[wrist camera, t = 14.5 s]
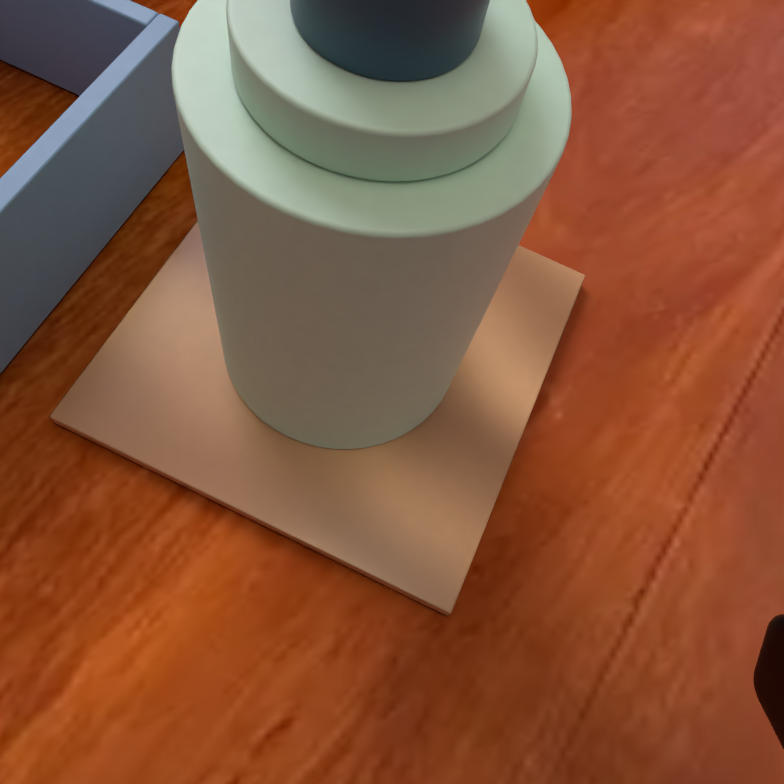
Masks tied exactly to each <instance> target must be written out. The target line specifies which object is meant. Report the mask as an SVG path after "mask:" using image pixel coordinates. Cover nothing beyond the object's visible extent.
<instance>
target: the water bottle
mask: <svg viewBox="0 0 784 784" xmlns="http://www.w3.org/2000/svg"><path fill="white" fill-rule="evenodd" d="M171 71H172V88H173V94H174V99H175V104H176V109H177V114H178V120H179V125H180V130H181V135H182V140H183V146H184V151H185V156H186V161H187V166H188V172H189V177H190V182H191V187H192V192H193V198H194V203H195V208H196V213H197V218H198V224H199V229H200V234H201V239H202V244H203V250H204V255H205V260H206V265H207V270H208V276H209V281H210V286H211V291H212V296H213V302H214V307H215V312H216V317H217V322H218V328H219V333H220V338H221V343H222V348H223V354H224V358H225V363H226V367H227V371H228V373H229V376H230V378H231V381H232V383H233V385H234V387H235V388H236V390H237V392H238V394H239V395H240V397H241V398H242V399H243V401H244V402H245V403H246V405H247V406H248V407H249V408H250V409H251V410H252V411H253V412H254V413H255V414H256V415H257V416H258V417H259V418H260V419H261V420H262V421H264V422H265V423H266V424H268V425H269V426H271V427H272V428H273V429H275V430H277V431H279V432H280V433H282V434H284V435H286V436H288V437H290V438H293V439H295V440H298V441H300V442H302V443H306V444H310V445H314V446H318V447H324V448H331V449H357V448H366V447H371V446H375V445H379V444H383V443H386V442H388V441H391V440H393V439H396V438H398V437H400V436H402V435H404V434H406V433H407V432H409V431H411V430H412V429H414V428H415V427H416V426H418V425H419V424H420V423H422V422H423V421H424V420H425V419H426V418H427V417H428V416H429V415H430V414H431V413H432V412H433V411H434V410H435V409H436V407H437V406H438V405H439V403H440V402H441V401H442V399H443V397H444V395H445V394H446V392H447V390H448V388H449V386H450V384H451V382H452V380H453V378H454V376H455V374H456V372H457V370H458V368H459V366H460V364H461V362H462V360H463V357H464V355H465V353H466V351H467V349H468V347H469V345H470V343H471V341H472V339H473V337H474V335H475V333H476V331H477V329H478V327H479V325H480V323H481V321H482V319H483V316H484V314H485V312H486V310H487V308H488V306H489V304H490V302H491V300H492V298H493V296H494V294H495V292H496V290H497V288H498V286H499V284H500V282H501V280H502V278H503V275H504V273H505V271H506V269H507V267H508V265H509V263H510V261H511V259H512V257H513V255H514V253H515V251H516V249H517V247H518V245H519V243H520V241H521V239H522V237H523V234H524V232H525V230H526V228H527V226H528V224H529V222H530V220H531V218H532V216H533V214H534V212H535V210H536V208H537V206H538V204H539V202H540V200H541V198H542V196H543V193H544V191H545V189H546V187H547V185H548V183H549V181H550V179H551V177H552V175H553V173H554V171H555V169H556V167H557V165H558V163H559V161H560V159H561V157H562V154H563V151H564V149H565V146H566V143H567V140H568V137H569V131H570V125H571V95H570V89H569V84H568V79H567V76H566V73H565V70H564V67H563V65H562V62H561V60H560V58H559V56H558V54H557V52H556V50H555V48H554V46H553V44H552V43H551V41H550V40H549V39H548V37H547V36H546V34H545V33H544V31H543V30H542V29H541V27H540V26H539V25H538V24H537V23H536V22H535V20H534V18H533V15H532V12H531V10H530V7H529V5H528V4H527V2H526V0H198V1H197V2H196V3H195V4H194V6H193V7H192V8H191V9H190V11H189V13H188V15H187V17H186V18H185V20H184V22H183V24H182V26H181V28H180V31H179V34H178V37H177V40H176V43H175V46H174V51H173V59H172V66H171Z"/></svg>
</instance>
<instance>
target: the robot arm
mask: <svg viewBox="0 0 784 784" xmlns="http://www.w3.org/2000/svg"><path fill="white" fill-rule="evenodd" d="M754 687H755V691H756V694H757V697H758V699H759V702H760V703H761V705H762V707H763V709H764V711H765V713H766V715H767V717H768V719H769V721H770V723H771V725H772V727H773V729H774V731H775V733H776V735H777V737H778V739H779V741H780V743H781V745H782V747H783V749H784V614H781V615H778V616H775V617H774V618H773V619H772V620H771V621H770V622H769V625H768V627H767V630H766V634H765V637H764V640H763V644H762V647H761V650H760V654H759V657H758V660H757V664H756V667H755V671H754Z"/></svg>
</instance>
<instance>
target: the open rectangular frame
mask: <svg viewBox="0 0 784 784" xmlns="http://www.w3.org/2000/svg"><path fill="white" fill-rule="evenodd" d="M179 31H180V27H179V22H178V21H176V20H174V19H172V18H169V17H167V16H165V15H163V14H158V13H157V12H155V11H153V10H151V9H148V8H146V7H144V6H142V5H139V4H137V3H135V2H133V1H130V0H0V60H2V61H4V62H7V63H9V64H11V65H13V66H15V67H18V68H20V69H22V70H24V71H26V72H29V73H31V74H33V75H35V76H37V77H40V78H42V79H44V80H46V81H48V82H50V83H53V84H55V85H57V86H59V87H61V88H64V89H66V90H68V91H70V92H72V93H75V94H77V95H79V97H78V99H77V100H76V101H75V102H74V103H73V104H72V105H71V106H70V107H69V108H68V109H67V110H66V111H65V112H64V113H63V114H62V115H61V116H60V117H59V118H58V119H57V120H56V121H55V122H54V123H53V124H52V125H51V127H50V128H49V129H48V130H47V131H46V132H45V133H44V134H43V135H42V136H41V137H40V138H39V139H38V140H37V141H36V142H35V143H34V144H33V145H32V146H31V147H30V148H29V149H28V150H27V151H26V152H25V153H24V154H23V156H22V157H21V158H20V159H19V160H18V161H17V162H16V163H15V164H14V165H13V166H12V167H11V168H10V169H9V170H8V171H7V172H6V173H5V174H4V175H3V176H2V177H1V178H0V373H1V372H2V371H3V370H4V369H5V367H6V366H7V365H8V364H9V362H10V361H11V360H12V359H13V358H14V356H15V355H16V354H17V353H18V352H19V350H20V349H21V348H22V347H23V345H24V344H25V343H26V342H27V341H28V339H29V338H30V337H31V336H32V334H33V333H34V332H35V331H36V330H37V328H38V327H39V326H40V325H41V323H42V322H43V321H44V320H45V319H46V317H47V316H48V315H49V314H50V312H51V311H52V310H53V309H54V308H55V306H56V305H57V304H58V303H59V301H60V300H61V299H62V298H63V297H64V295H65V294H66V293H67V292H68V290H69V289H70V288H71V287H72V286H73V284H74V283H75V282H76V281H77V279H78V278H79V277H80V276H81V275H82V273H83V272H84V271H85V270H86V269H87V267H88V266H89V265H90V264H91V262H92V261H93V260H94V259H95V258H96V256H97V255H98V254H99V253H100V251H101V250H102V249H103V248H104V247H105V245H106V244H107V243H108V242H109V240H110V239H111V238H112V237H113V236H114V234H115V233H116V232H117V231H118V229H119V228H120V227H121V226H122V225H123V223H124V222H125V221H126V220H127V218H128V217H129V216H130V215H131V214H132V212H133V211H134V210H135V209H136V207H137V206H138V205H139V204H140V203H141V201H142V200H143V199H144V198H145V196H146V195H147V194H148V193H149V192H150V190H151V189H152V188H153V187H154V185H155V184H156V183H157V182H158V181H159V179H160V178H161V177H162V176H163V175H164V173H165V172H166V171H167V170H168V168H169V167H170V166H171V165H172V164H173V162H174V161H175V160H176V159H177V157H178V156H179V155H180V154H181V153H182V151H183V150H184V146H183V140H182V135H181V130H180V125H179V120H178V114H177V109H176V104H175V99H174V94H173V88H172V71H171V66H172V59H173V51H174V46H175V43H176V40H177V37H178V34H179Z"/></svg>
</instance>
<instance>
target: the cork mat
mask: <svg viewBox="0 0 784 784" xmlns="http://www.w3.org/2000/svg"><path fill="white" fill-rule="evenodd" d="M584 278H585V275H584V274H582V273H579V272H577V271H575V270H573V269H570V268H568V267H566V266H564V265H562V264H559V263H557V262H555V261H553V260H550V259H548V258H546V257H544V256H542V255H539V254H537V253H535V252H533V251H531V250H528V249H526V248H524V247H522V246H519V245H518V247H517V249H516V251H515V253H514V255H513V257H512V259H511V261H510V263H509V265H508V267H507V269H506V271H505V273H504V275H503V278H502V280H501V282H500V284H499V286H498V288H497V290H496V292H495V294H494V296H493V298H492V300H491V302H490V304H489V306H488V308H487V310H486V312H485V314H484V316H483V319H482V321H481V323H480V325H479V327H478V329H477V331H476V333H475V335H474V337H473V339H472V341H471V343H470V345H469V347H468V349H467V351H466V353H465V355H464V357H463V360H462V362H461V364H460V366H459V368H458V370H457V372H456V374H455V376H454V378H453V380H452V382H451V384H450V386H449V388H448V390H447V392H446V394H445V395H444V397H443V399H442V401H441V402H440V403H439V405H438V406H437V407H436V409H435V410H434V411H433V412H432V413H431V414H430V415H429V416H428V417H427V418H426V419H425V420H424V421H423V422H422V423H420V424H419V425H418V426H416V427H415V428H414V429H412V430H411V431H409V432H407V433H406V434H404V435H402V436H400V437H398V438H396V439H393V440H391V441H388V442H386V443H383V444H379V445H375V446H371V447H366V448H357V449H331V448H324V447H318V446H314V445H310V444H306V443H302V442H300V441H298V440H295V439H293V438H290V437H288V436H286V435H284V434H282V433H280V432H279V431H277V430H275V429H273V428H272V427H271V426H269V425H268V424H266V423H265V422H264V421H262V420H261V419H260V418H259V417H258V416H257V415H256V414H255V413H254V412H253V411H252V410H251V409H250V408H249V407H248V406H247V405H246V403H245V402H244V401H243V399H242V398H241V397H240V395H239V394H238V392H237V390H236V388H235V387H234V385H233V383H232V381H231V378H230V376H229V373H228V371H227V367H226V363H225V358H224V354H223V348H222V343H221V338H220V333H219V328H218V322H217V317H216V312H215V307H214V302H213V296H212V291H211V286H210V281H209V276H208V270H207V265H206V260H205V255H204V250H203V244H202V239H201V234H200V229H199V224H198V220H197V221H196V223H195V224H194V225H193V227H192V228H191V229H190V231H189V232H188V233H187V235H186V236H185V237H184V239H183V240H182V241H181V243H180V244H179V245H178V246H177V248H176V249H175V250H174V252H173V253H172V254H171V256H170V257H169V258H168V260H167V261H166V262H165V264H164V265H163V266H162V268H161V269H160V270H159V272H158V273H157V274H156V276H155V277H154V278H153V280H152V281H151V282H150V283H149V285H148V286H147V287H146V289H145V290H144V291H143V293H142V294H141V295H140V297H139V298H138V299H137V301H136V302H135V303H134V305H133V306H132V307H131V309H130V310H129V311H128V313H127V314H126V315H125V317H124V318H123V319H122V320H121V322H120V323H119V324H118V326H117V327H116V328H115V330H114V331H113V332H112V334H111V335H110V336H109V338H108V339H107V340H106V342H105V343H104V344H103V346H102V347H101V348H100V350H99V351H98V352H97V354H96V355H95V356H94V357H93V359H92V360H91V361H90V363H89V364H88V365H87V367H86V368H85V369H84V371H83V372H82V373H81V375H80V376H79V377H78V379H77V380H76V381H75V383H74V384H73V385H72V387H71V388H70V389H69V391H68V392H67V393H66V395H65V396H64V397H63V398H62V400H61V401H60V402H59V404H58V405H57V406H56V408H55V409H54V410H53V412H52V413H51V414H50V416H49V417H50V418H51V420H52V421H53V422H54V423H56V424H58V425H60V426H62V427H64V428H66V429H68V430H70V431H72V432H74V433H76V434H78V435H80V436H82V437H84V438H86V439H88V440H90V441H92V442H94V443H96V444H98V445H101V446H103V447H105V448H107V449H109V450H111V451H113V452H115V453H117V454H119V455H121V456H123V457H125V458H127V459H129V460H131V461H133V462H135V463H137V464H139V465H141V466H143V467H145V468H147V469H149V470H151V471H153V472H155V473H157V474H159V475H162V476H164V477H166V478H168V479H170V480H172V481H174V482H176V483H178V484H180V485H182V486H184V487H186V488H188V489H190V490H192V491H194V492H196V493H198V494H200V495H202V496H204V497H206V498H208V499H210V500H212V501H214V502H216V503H218V504H221V505H223V506H225V507H227V508H229V509H231V510H233V511H235V512H237V513H239V514H241V515H243V516H245V517H247V518H249V519H251V520H253V521H255V522H257V523H259V524H261V525H263V526H265V527H267V528H269V529H271V530H273V531H275V532H277V533H279V534H282V535H284V536H286V537H288V538H290V539H292V540H294V541H296V542H298V543H300V544H302V545H304V546H306V547H308V548H310V549H312V550H314V551H316V552H318V553H320V554H322V555H324V556H326V557H328V558H330V559H332V560H334V561H336V562H338V563H340V564H343V565H345V566H347V567H349V568H351V569H353V570H355V571H357V572H359V573H361V574H363V575H365V576H367V577H369V578H371V579H373V580H375V581H377V582H379V583H381V584H383V585H385V586H387V587H389V588H391V589H393V590H395V591H397V592H399V593H402V594H404V595H406V596H408V597H410V598H412V599H414V600H416V601H418V602H420V603H422V604H424V605H426V606H428V607H430V608H432V609H434V610H436V611H438V612H440V613H442V614H444V615H446V616H448V615H450V614H451V613H452V610H453V608H454V605H455V603H456V600H457V598H458V595H459V593H460V590H461V588H462V585H463V583H464V580H465V578H466V575H467V573H468V570H469V568H470V565H471V563H472V560H473V558H474V555H475V553H476V550H477V548H478V545H479V542H480V540H481V537H482V535H483V532H484V530H485V527H486V525H487V522H488V520H489V517H490V515H491V512H492V510H493V507H494V505H495V502H496V500H497V497H498V495H499V492H500V490H501V487H502V485H503V482H504V480H505V477H506V474H507V472H508V469H509V467H510V464H511V462H512V459H513V457H514V454H515V452H516V449H517V447H518V444H519V442H520V439H521V437H522V434H523V432H524V429H525V427H526V424H527V422H528V419H529V417H530V414H531V412H532V409H533V406H534V404H535V401H536V399H537V396H538V394H539V391H540V389H541V386H542V384H543V381H544V379H545V376H546V374H547V371H548V369H549V366H550V364H551V361H552V359H553V356H554V354H555V351H556V349H557V346H558V344H559V341H560V338H561V336H562V333H563V331H564V328H565V326H566V323H567V321H568V318H569V316H570V313H571V311H572V308H573V306H574V303H575V301H576V298H577V296H578V293H579V291H580V288H581V286H582V283H583V281H584Z"/></svg>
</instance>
